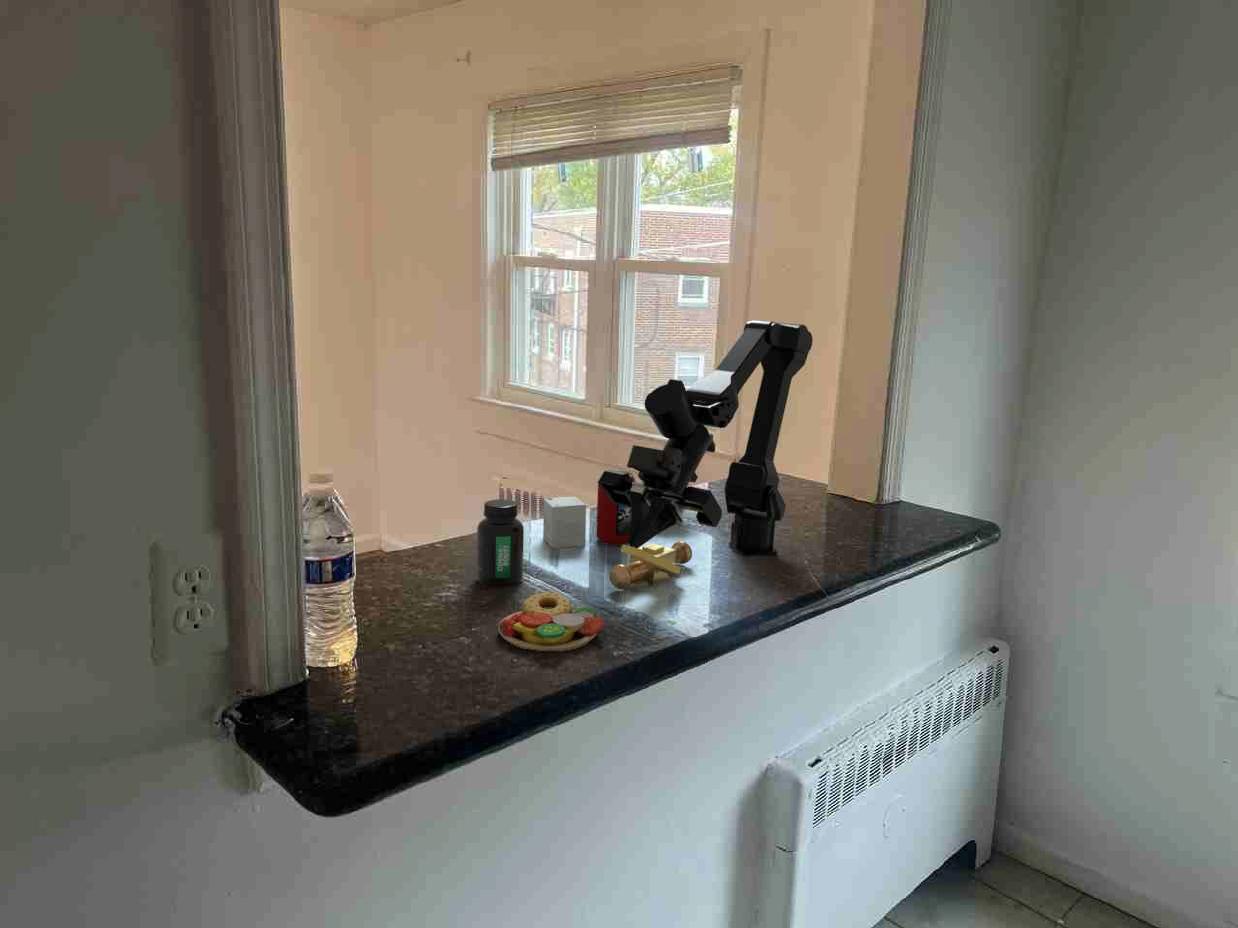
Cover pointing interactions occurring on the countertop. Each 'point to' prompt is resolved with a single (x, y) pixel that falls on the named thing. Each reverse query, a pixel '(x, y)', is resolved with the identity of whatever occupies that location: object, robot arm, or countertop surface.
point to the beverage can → (612, 519)
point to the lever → (654, 561)
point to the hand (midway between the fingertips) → (632, 546)
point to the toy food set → (550, 624)
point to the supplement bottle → (500, 545)
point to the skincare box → (564, 522)
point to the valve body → (649, 567)
